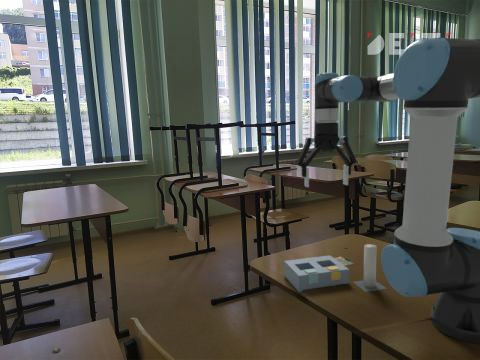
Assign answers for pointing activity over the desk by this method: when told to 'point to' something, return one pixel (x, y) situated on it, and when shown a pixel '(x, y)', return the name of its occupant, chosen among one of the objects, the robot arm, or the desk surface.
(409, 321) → the desk surface
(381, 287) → the mat
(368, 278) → the plug
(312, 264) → the socket block
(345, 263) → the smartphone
